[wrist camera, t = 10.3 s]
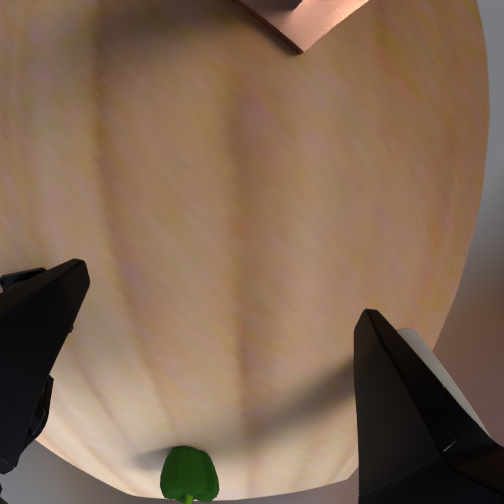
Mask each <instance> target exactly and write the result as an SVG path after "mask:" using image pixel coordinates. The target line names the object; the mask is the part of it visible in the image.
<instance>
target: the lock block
mask: <svg viewBox="0 0 504 504" xmlns="http://www.w3.org/2000/svg"><path fill="white" fill-rule="evenodd" d="M282 1H284V2H285V3H286V4H288V5H289V6H290V7H291V8H293V9H294V10H295V9H297V8H298V7H299V6H300V5H302V4H303V3H304V2H306V1H307V0H282Z"/></svg>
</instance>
